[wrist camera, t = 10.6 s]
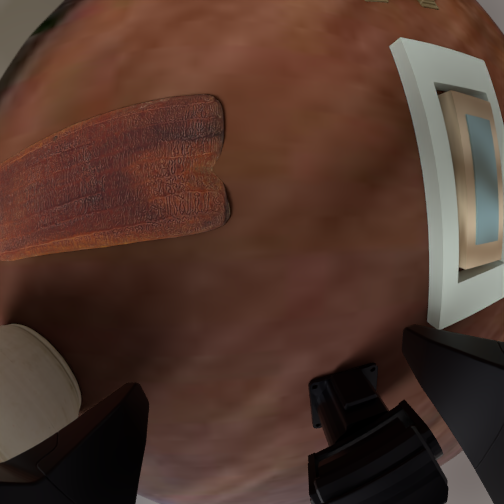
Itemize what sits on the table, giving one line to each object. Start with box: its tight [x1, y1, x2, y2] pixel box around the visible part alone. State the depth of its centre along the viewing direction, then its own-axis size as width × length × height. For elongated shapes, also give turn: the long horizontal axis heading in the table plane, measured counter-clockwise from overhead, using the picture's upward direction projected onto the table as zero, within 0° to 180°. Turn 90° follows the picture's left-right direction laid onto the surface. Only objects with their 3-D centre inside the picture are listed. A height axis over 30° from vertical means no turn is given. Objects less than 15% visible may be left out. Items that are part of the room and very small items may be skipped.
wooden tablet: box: [0, 94, 230, 261], centre depth 17 cm, size 27×10×2 cm, turn 96°
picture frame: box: [438, 90, 503, 270], centre depth 18 cm, size 15×6×3 cm, turn 7°
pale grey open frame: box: [389, 37, 504, 330], centre depth 18 cm, size 25×12×2 cm, turn 11°
